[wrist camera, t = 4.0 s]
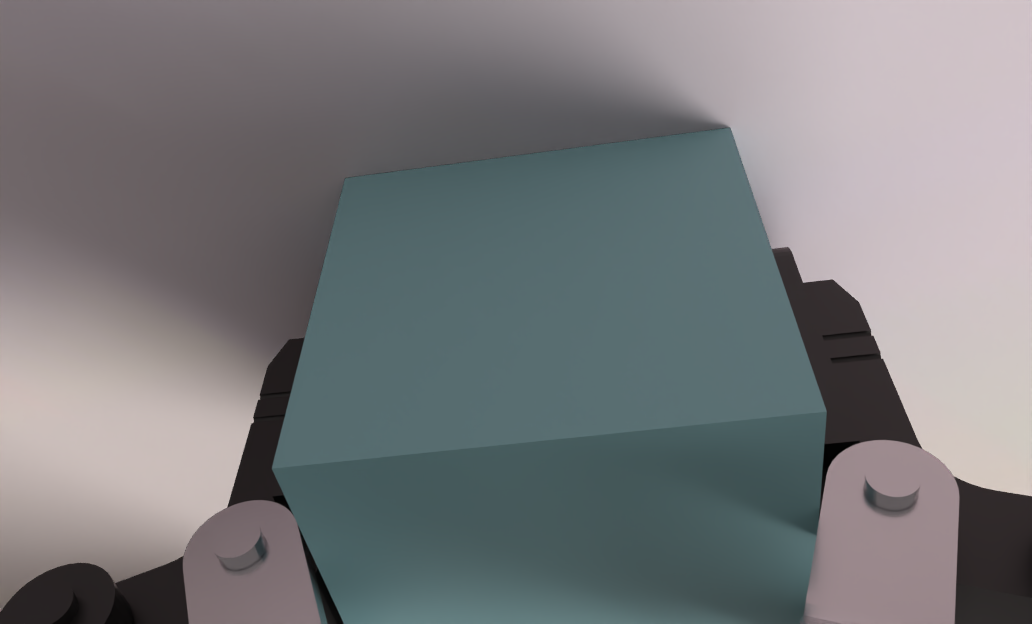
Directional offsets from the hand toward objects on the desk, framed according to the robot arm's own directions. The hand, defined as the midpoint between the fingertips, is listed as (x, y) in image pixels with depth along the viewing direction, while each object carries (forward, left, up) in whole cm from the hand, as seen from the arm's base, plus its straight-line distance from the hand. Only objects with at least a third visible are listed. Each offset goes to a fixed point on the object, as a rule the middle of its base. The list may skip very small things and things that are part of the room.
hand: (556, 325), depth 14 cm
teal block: (0, 0, 0) cm, 0 cm away
